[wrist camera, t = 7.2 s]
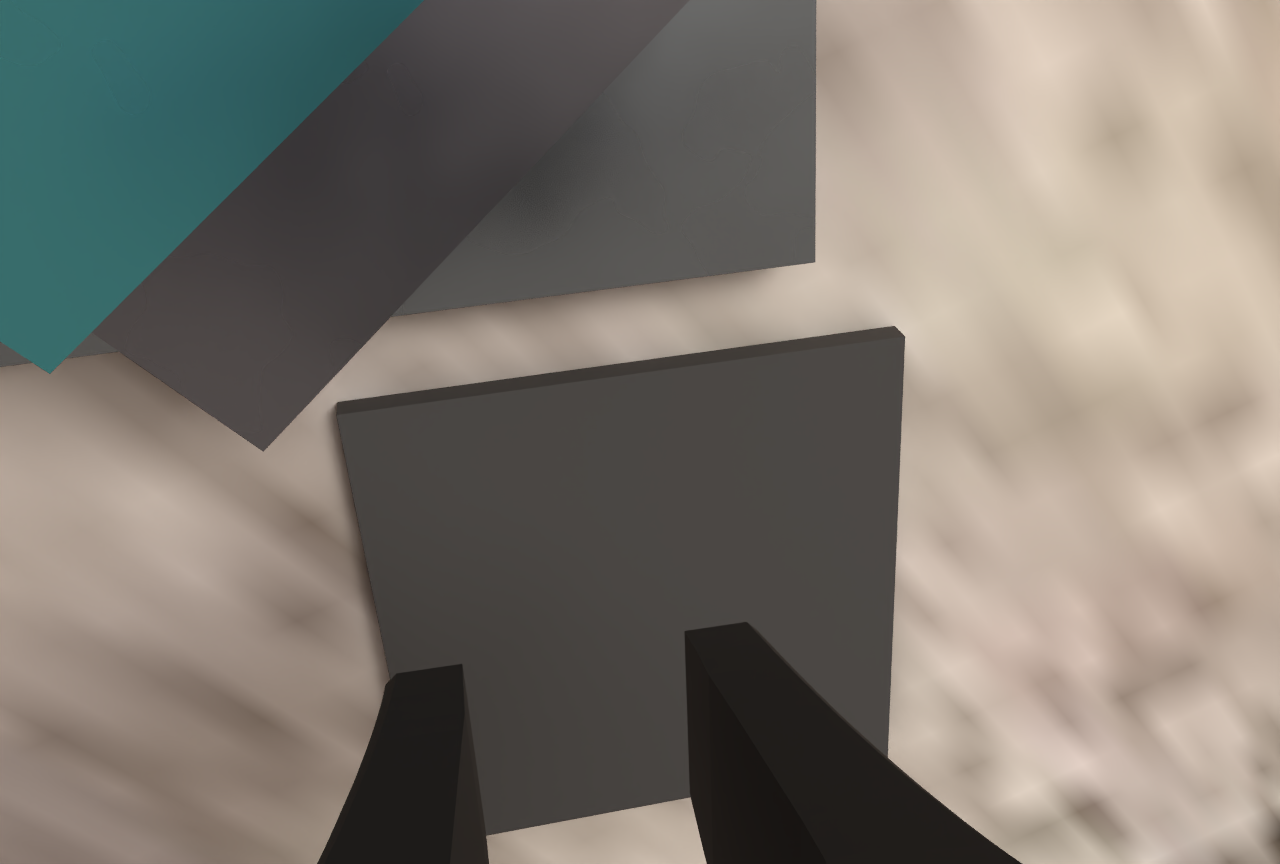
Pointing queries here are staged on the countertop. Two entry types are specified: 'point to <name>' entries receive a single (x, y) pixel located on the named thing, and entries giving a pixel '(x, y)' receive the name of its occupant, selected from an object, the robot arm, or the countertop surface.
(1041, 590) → the countertop surface
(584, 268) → the base
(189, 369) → the grey slotted holder
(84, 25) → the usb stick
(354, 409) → the key mat
